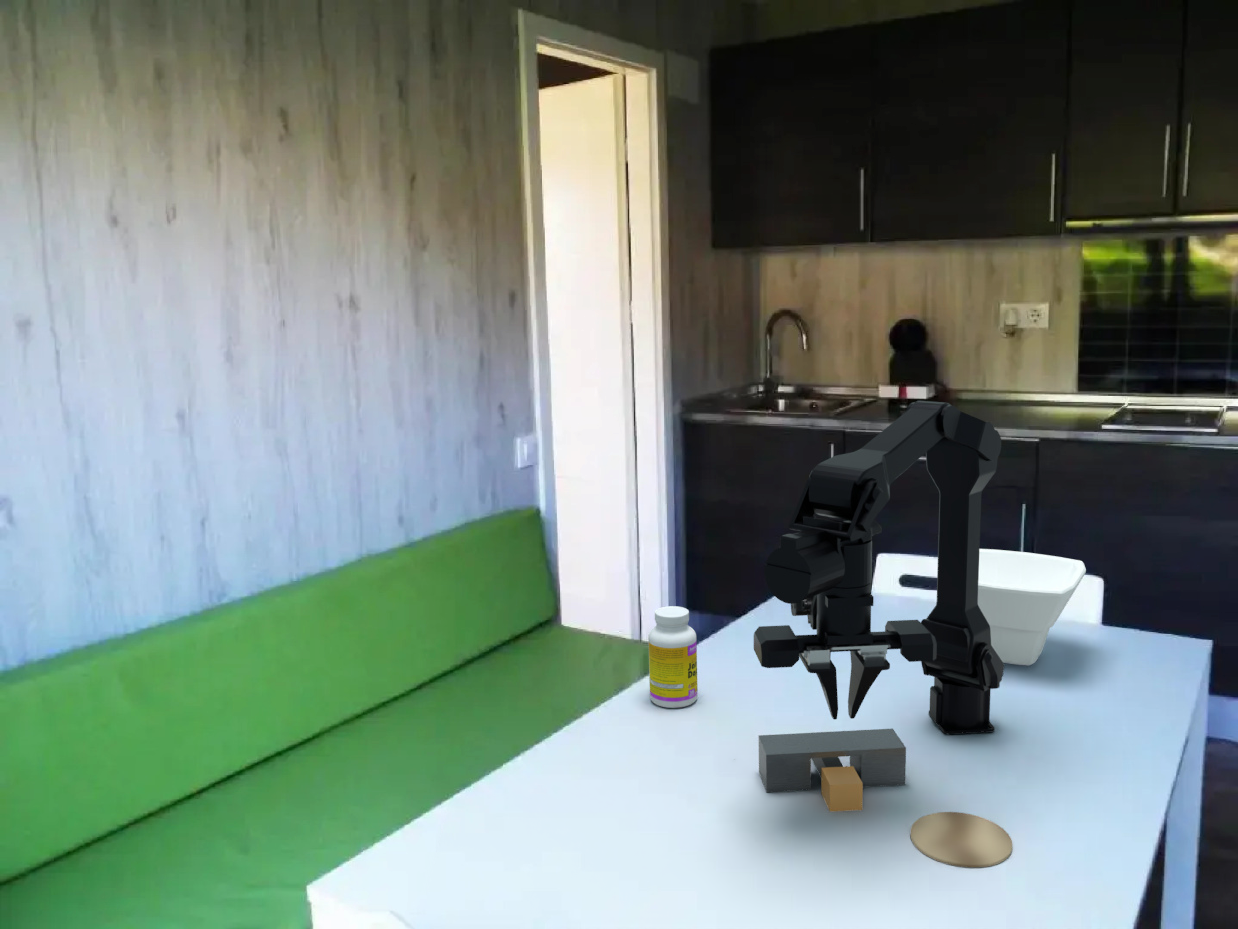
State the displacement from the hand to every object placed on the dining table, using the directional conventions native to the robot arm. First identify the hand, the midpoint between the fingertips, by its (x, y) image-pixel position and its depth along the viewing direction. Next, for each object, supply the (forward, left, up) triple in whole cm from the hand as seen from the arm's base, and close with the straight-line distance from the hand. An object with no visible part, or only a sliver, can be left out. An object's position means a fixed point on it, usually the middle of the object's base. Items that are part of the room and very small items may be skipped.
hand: (842, 717), depth 115 cm
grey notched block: (0, -6, -10) cm, 12 cm away
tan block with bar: (0, -5, -10) cm, 11 cm away
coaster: (-10, +9, -10) cm, 17 cm away
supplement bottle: (+16, -30, -10) cm, 36 cm away
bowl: (-35, -39, -10) cm, 54 cm away
